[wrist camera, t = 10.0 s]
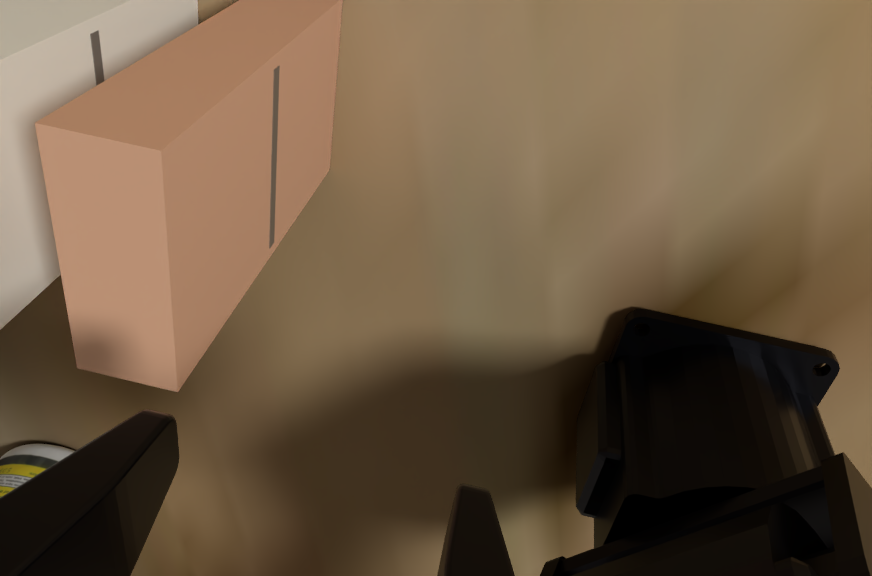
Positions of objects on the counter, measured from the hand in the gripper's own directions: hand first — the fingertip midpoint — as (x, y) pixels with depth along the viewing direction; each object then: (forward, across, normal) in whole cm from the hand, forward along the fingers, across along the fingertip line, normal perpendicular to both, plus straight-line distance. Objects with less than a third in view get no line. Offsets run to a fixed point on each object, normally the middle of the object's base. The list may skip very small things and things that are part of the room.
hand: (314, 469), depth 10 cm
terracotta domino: (+13, +4, 0) cm, 14 cm away
